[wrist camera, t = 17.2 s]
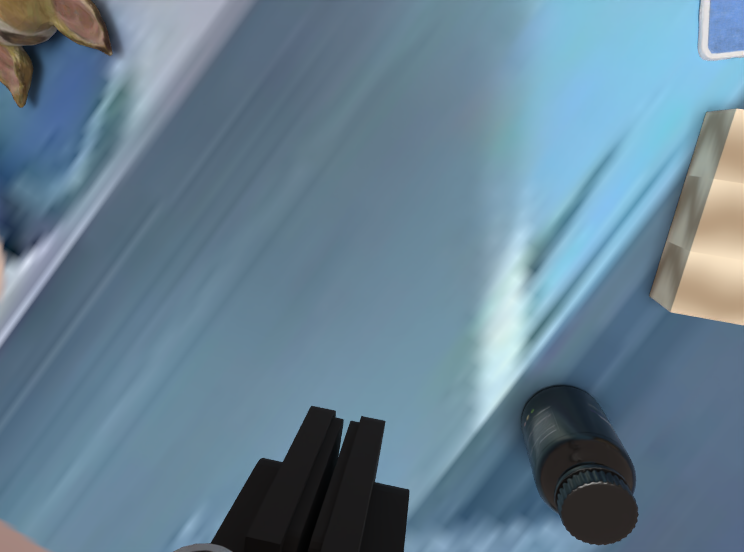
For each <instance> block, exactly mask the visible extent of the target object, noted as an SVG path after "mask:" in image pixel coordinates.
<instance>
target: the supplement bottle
mask: <svg viewBox="0 0 744 552" xmlns="http://www.w3.org/2000/svg"><path fill="white" fill-rule="evenodd" d="M521 425H522V432H523V437H524V441H525V445H526V449H527V452H528V456H529V460H530V464H531V468H532V472H533V476H534V480H535V484H536V487H537V490H538V492H539V494H540V496H541V498H542V499H543V501H544V502H545V503H546V504H547V505H548V506H549V507H550V508H551V509H552V510H553V511H555V512H556V513H558V514H559V515H560V518H561V520H562V523H563V525H564V526H565V528H566V530H567V531H569V532H570V534H571V535H572V536H575V537H576V539H578V540H582V541H583V542H585V543H589V544H596V545H602V544H603V545H607V544H609V543H611V544H612V543H615V542H616V541H620V540H621V539H622V538H625V537H627V535H628V534H629V533H631V532H632V529H633V528H635V524H636V523H637V517H638V512H637V511H638V506H637V504H636V500H635V498H634V496H633V493H634V490H635V486H636V473H635V469H634V466H633V463H632V461H631V459H630V457H629V455H628V453H627V452H626V450H625V448H624V446H623V445H622V443H621V441H620V439H619V438H618V436H617V434H616V433H615V431H614V429H613V427H612V426H611V424H610V422H609V421H608V419H607V417H606V415H605V414H604V412H603V410H602V409H601V407H600V406H599V404H598V403H597V402H596V401H595V400H594V399H593V398H592V397H591V396H590V395H589V394H587V393H586V392H584V391H582V390H579V389H576V388H573V387H567V386H558V387H552V388H548V389H546V390H543V391H541V392H539V393H538V394H536V395H535V396H534V397H533V398H532V399H531V400H530V401H529V402H528V404H527V405H526V407H525V409H524V411H523V414H522V420H521Z"/></svg>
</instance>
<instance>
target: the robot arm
mask: <svg viewBox="0 0 744 552" xmlns="http://www.w3.org/2000/svg"><path fill="white" fill-rule="evenodd" d="M335 416H336V411H334V410H329V409H324V408H320V407H315V406H311V407H310V409H309V411H308V413H307V415H306V417H305V419H304V421H303V423H302V425H301V427H300V429H299V431H298V433H297V435H296V437H295V439H294V441H293V443H292V445H291V447H290V449H289V451H288V453H287V455H286V457H285V459H284V461H283V462H279V461H275V460H270V459H265V458H261V459H260V460H259V461H258V463H257V464H256V466H255V468H254V469H253V471H252V473H251V475H250V476H249V478H248V480H247V481H246V483H245V485H244V487H243V488H242V490H241V492H240V493H239V495H238V497H237V499H236V500H235V502H234V504H233V506H232V507H231V509H230V511H229V512H228V514H227V516H226V518H225V519H224V521H223V523H222V525H221V526H220V528H219V530H218V531H217V533H216V535H215V537H214V538H213V540H212V542H211V543H207V544H193V545H189V546H185V547H182V548H180V549H178V550H176V551H174V552H404V543H405V533H406V522H407V512H408V502H409V490H408V489H404V488H399V487H395V486H390V485H385V484H381V483H376V482H375V478H376V473H377V467H378V461H379V455H380V450H381V444H382V438H383V433H384V427H385V421H383V420H378V419H373V418H368V417H363V416H361V419H360V422H355V421H350V424H349V427H348V430H347V433H346V436H345V439H344V442H343V445H342V448H341V451H340V454H339V449H340V442H341V436H342V429H343V419H340V418H335ZM338 455H339V457H338Z"/></svg>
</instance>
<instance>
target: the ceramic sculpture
mask: <svg viewBox="0 0 744 552" xmlns="http://www.w3.org/2000/svg"><path fill="white" fill-rule="evenodd" d="M57 29H58V30H59V31H60V32H61V33H62V34H63V35H65V36H66V37H67V38H69V39H70V40H72V41H74V42H76V43H77V44H80V45H84V46H87V47H91V48H94V49H98V50H100V51H102V52H104V53H105V54H107V55H109V56H111V55H112V54H113V53H112V48H111V43H110V39H109V34H108V30H107V27H106V25H105V22H104V21H103V19H102V17H101V14H100V12H99V10H98V8H97V7H96V5H95V4H94V3H93V2H92V1H91V0H0V81H1V82H2V83H3V84H4V85H5V86H6V87H7V88H8V89H9V91H10V92H11V93H12V96H13V99H14V100H15V102H16V103H17V105H18V106H19V107H20V108H21V107H23V106H24V105H25V104H26V100H27V96H28V91H29V89H30V86H31V80H32V74H33V64H32V61H31V59H30V57H29V55H28V54H27V52H26V51H25V50H24V48H23V47H22V46H24V45H36V44H40V43H42V42H45V41H47V40H49V39H50V38H51V37H52V36H53V35H54V34H55V33H56V31H57Z"/></svg>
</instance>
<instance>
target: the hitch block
mask: <svg viewBox="0 0 744 552" xmlns="http://www.w3.org/2000/svg"><path fill="white" fill-rule="evenodd" d="M649 296H650V297H651V298H652V299H654V300H655V301H656V302H658V303H659V304H660V305H662V306H663V307H664V308H666V309H667V310H668V311H670V312H673V313H678V314H684V315H689V316H695V317H701V318H706V319H712V320H717V321H723V322H728V323H734V324H740V325H744V110H742V109H729V110H720V111H711V112H706V115H705V118H704V121H703V124H702V128H701V131H700V134H699V137H698V141H697V144H696V147H695V150H694V154H693V157H692V160H691V163H690V166H689V170H688V173H687V176H686V179H685V183H684V186H683V189H682V192H681V195H680V199H679V202H678V205H677V208H676V212H675V215H674V218H673V221H672V224H671V228H670V231H669V234H668V237H667V241H666V244H665V247H664V250H663V253H662V257H661V260H660V263H659V266H658V270H657V273H656V276H655V279H654V282H653V286H652V289H651V292H650V295H649Z"/></svg>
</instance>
